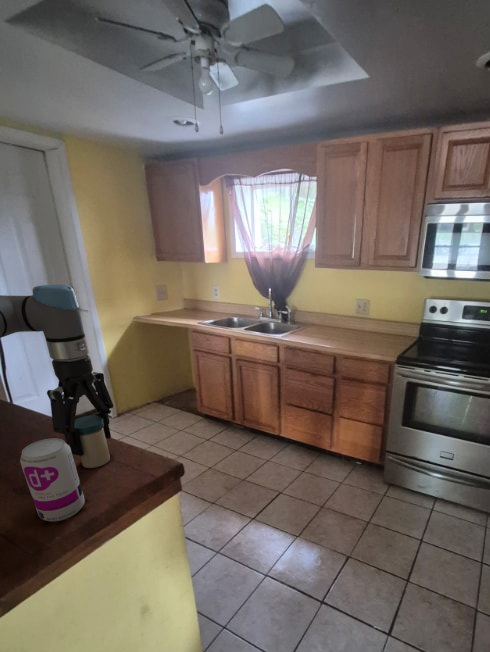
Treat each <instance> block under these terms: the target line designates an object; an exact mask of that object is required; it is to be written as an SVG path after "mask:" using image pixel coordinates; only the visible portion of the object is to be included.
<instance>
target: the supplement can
mask: <svg viewBox="0 0 490 652" xmlns="http://www.w3.org/2000/svg"><path fill="white" fill-rule="evenodd" d="M74 459H75V458H74V456H73V454H72V451H71V448H70V445H69V444H67V443H66V440H64V439H62V438H58V437H57V438H56V437H55V438H54V437H52V438H45V439H40V440H37V441H34V442H32V443H30V444H28V445H27V446H25V447H24V448H23V449H22V450H21V455H20V459H19V463H20V466H21V469H22V472H23V474H24V478H25V480H26V483H27V487H28V489H29V492H30V495H31V498H32V500H33V504H34V507H35V509H36V512H37V515H38V517H39V518H40V520H43V521H47V522H60V521H64V520H67V519H69V518H71V517H74V516H75V515H76V514H77V513H78V512H79V511H80V510H81V509H82V508H83V507H84V505H85V502H86V501H85V495H84V493H83V489H82V485H81V481H80V477H79V475H78V471H77V470H78V469H77V466H76V463H75V460H74Z"/></svg>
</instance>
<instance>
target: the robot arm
mask: <svg viewBox="0 0 490 652" xmlns="http://www.w3.org/2000/svg"><path fill="white" fill-rule="evenodd" d="M80 307H81V306H80V304H79V303H78V299H77V295H76V291H75V290H74V288H73V287H72V286H70V285H68V284H42V285H36V286H34V287H33V288H32V295H5V294H4V295H3V294H2V295H1V294H0V339H1V338H5V337H7V336H10V335H13V334H16V333H30V332H31V333H32V332H33V333H34V332H35V333H39V332H42V333H43V335H44V339H45V343H46V348H47V350H48V354H49V358H50V359H52V361H51V365H52V368H53V373H54V375H55V377H56V379H58V384H57V387H55V388H54V389H48V390H47V391H46V395H47V397H48V399H49V402H50V410H51V420H52V421H51V422H52V429H53V430H52V431H53V432H54V433H58V434H63V436H64V439H65V443H66V444H67V445H68V446H69V447H70V448H71V452H72V455H74V456H79V457H80V456H82V455H84V453H83V449H82V445H81V442H80V438H79V434H78V430H74V425H75V420H76V417H77V415H76V414H77V408H78V403H80V398H82V397H83V396H85V397H86V398H87V399H88V401H89V402H90V404H91V405H92V406H93V408H94V409H95V410H96V412H97V413H96V414H95V415H94V416H100V417H102V418H103V421H104V427H103V428H104V432H105V437H106V439H111V438H112V434H111V430H110V423H111V421H110V417H109V415H111V413H112V410H111V409H114V403H113V400H112V398H111V394H110V393H109V390H108V388H107V385H106V381H105V374H104V373H103V372H98V371H97V372H95V371H94V369H93V364H92V360H91V357H90V356H89V353H90V350H89V347H88V342H87V337H86V334H85V331H84V325H83V320H82V315H81V311H80Z"/></svg>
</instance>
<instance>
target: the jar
mask: <svg viewBox="0 0 490 652" xmlns="http://www.w3.org/2000/svg"><path fill="white" fill-rule="evenodd" d="M79 438H80V442H81V445H82V449H83V453H84V455H82V456H79V458H80V462H81V465H82V467H83V468H86V469H94V468H98V467H102V466H104V465H106V464H107V463H108V462H109V461H110V460H111V454H110V449H109V447H108V446H109V445H108V442H107V438H106V437H105V432H104V428H102V429H101V430H99V431H97V432H94V433H91V434H85V435H79Z"/></svg>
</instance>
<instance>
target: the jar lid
mask: <svg viewBox="0 0 490 652" xmlns="http://www.w3.org/2000/svg"><path fill="white" fill-rule="evenodd" d="M103 427H104V421H103V418H102V417H100V416H96V415H85V416H81V417H79V418H75V425H74V430H78V434H79V435H85V434H91V433H94V432H97V431H99V430H101V429H102V428H103Z"/></svg>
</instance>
